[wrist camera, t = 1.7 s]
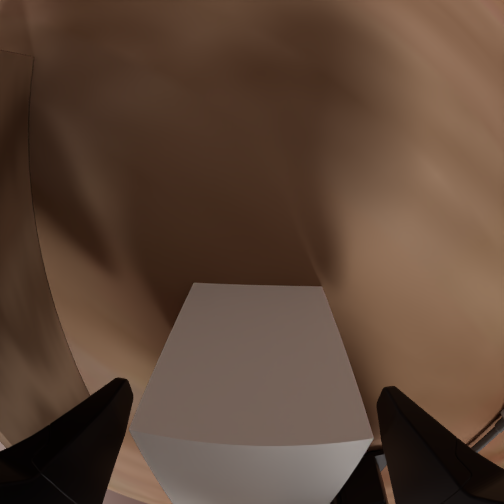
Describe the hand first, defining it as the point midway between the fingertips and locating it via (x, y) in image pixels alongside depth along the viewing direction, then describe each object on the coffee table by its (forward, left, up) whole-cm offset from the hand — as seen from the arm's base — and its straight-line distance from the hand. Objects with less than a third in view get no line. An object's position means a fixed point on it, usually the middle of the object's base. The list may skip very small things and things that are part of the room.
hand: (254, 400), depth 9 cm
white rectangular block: (0, 0, -4) cm, 4 cm away
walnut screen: (+2, +11, -4) cm, 12 cm away
